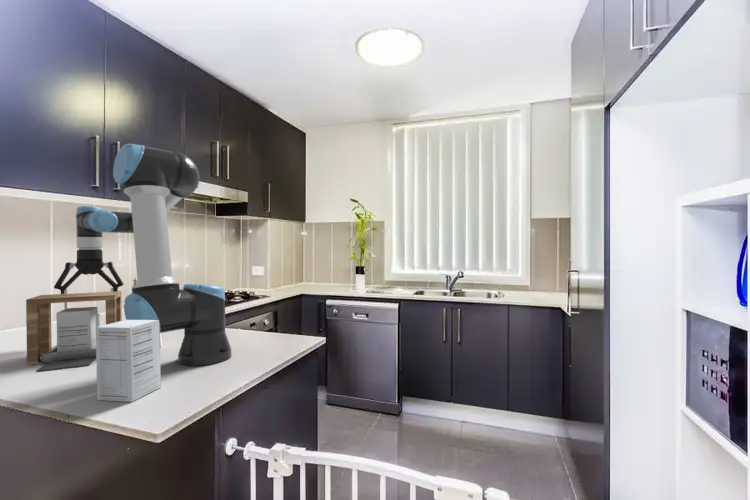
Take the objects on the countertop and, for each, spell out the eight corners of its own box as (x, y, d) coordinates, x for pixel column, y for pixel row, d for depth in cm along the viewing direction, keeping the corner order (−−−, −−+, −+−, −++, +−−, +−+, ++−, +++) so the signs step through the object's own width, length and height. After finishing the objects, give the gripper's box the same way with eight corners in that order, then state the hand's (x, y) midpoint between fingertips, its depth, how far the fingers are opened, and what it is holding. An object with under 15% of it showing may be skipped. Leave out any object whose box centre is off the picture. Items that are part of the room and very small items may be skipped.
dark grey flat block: (89, 365, 111) (89, 364, 111) (36, 372, 106) (36, 370, 106) (95, 358, 118) (95, 357, 118) (46, 364, 113) (46, 362, 113)
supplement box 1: (66, 353, 125) (65, 308, 125) (99, 349, 129) (98, 306, 129) (55, 360, 117) (55, 312, 117) (91, 357, 120) (90, 310, 120)
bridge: (115, 355, 122) (114, 295, 122) (26, 365, 112) (26, 299, 112) (121, 346, 133) (121, 291, 133) (41, 354, 124) (41, 295, 123)
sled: (100, 356, 120) (99, 325, 119) (43, 362, 113) (42, 329, 113) (115, 338, 143) (114, 312, 143) (68, 343, 137) (68, 315, 137)
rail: (104, 356, 120) (104, 355, 120) (38, 364, 113) (38, 362, 113) (119, 338, 145) (119, 337, 145) (66, 343, 138) (66, 341, 138)
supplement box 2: (162, 387, 93) (161, 319, 93) (132, 402, 84) (131, 327, 84) (128, 385, 95) (127, 318, 95) (95, 400, 86) (94, 326, 85)
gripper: (131, 248, 147) (131, 303, 147) (49, 248, 136) (50, 307, 136) (128, 248, 140) (129, 306, 140) (42, 249, 129) (42, 311, 129)
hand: (90, 307), depth 138 cm, fingers open, 13 cm apart
